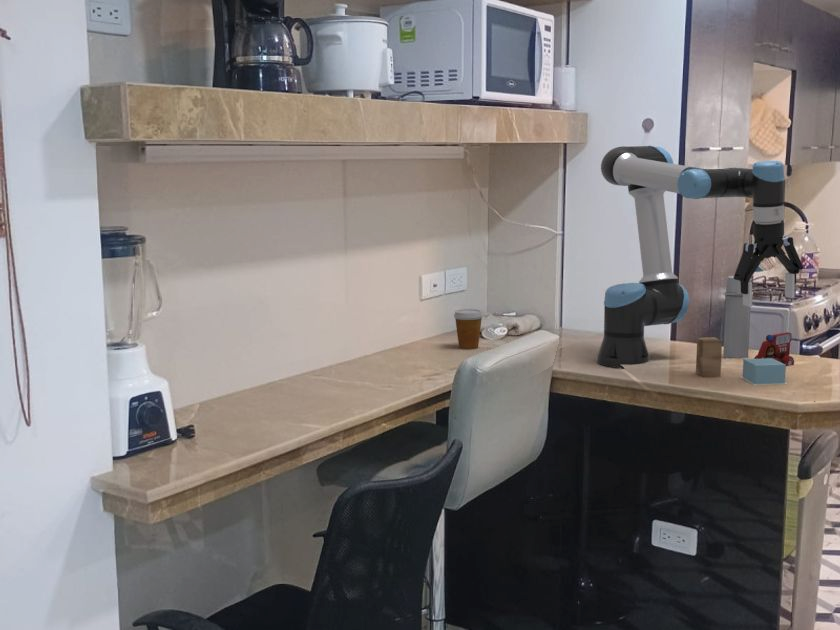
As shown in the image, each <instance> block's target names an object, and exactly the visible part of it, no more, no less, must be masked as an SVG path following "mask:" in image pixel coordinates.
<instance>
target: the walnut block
mask: <svg viewBox="0 0 840 630" xmlns="http://www.w3.org/2000/svg"><path fill="white" fill-rule="evenodd" d="M722 347H723V341H721V339H719V338H717V337H716V336H713V337H711V336H710V337H696V357H695V358H696V360H695V361H696V363H695V364H696V365H695V374H696V375H698V376H700V377H702V378H719V377H721V375H722V355H723V352H722V351H723V350H722V349H723V348H722Z"/></svg>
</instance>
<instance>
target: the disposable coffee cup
mask: <svg viewBox="0 0 840 630" xmlns="http://www.w3.org/2000/svg"><path fill="white" fill-rule="evenodd" d="M453 316H454V317H453V318H454V319H455V326H456V327H455V328H456V333H457V341H458V343H457V344H458V348H459V347H460V348H459V349H461V348H463V349H462V350H474V349H475V350H476V349H478V348H479V343H480V335H481V328H482V327H481V325H482V319H483V317H484V315H483V311H482V310H480V309H474V308H470V309H469V308H466V309H465V308H462V309H457V310H455V312H454V314H453Z"/></svg>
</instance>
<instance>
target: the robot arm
mask: <svg viewBox="0 0 840 630" xmlns="http://www.w3.org/2000/svg"><path fill="white" fill-rule="evenodd" d="M784 169H785V168H784V164H783V162H781V161H779V160H761V161H757V162H754V163H753V164H752V168H744V167H743V168H742V167H741V168H740V167H726V168H700V167H696V166H695V167H693V166H688V165H683V164H677V163H674V160H673V157H672V155H671V154H670V153H669V152H668V150H666V149H665V148H663V147H661V146H653V145H642V146H641V145H639V146H636V145H635V146H623V145H622V146H617V147H614V148H612V149H610V150H609V151H608V152H607V153H606V154H605V155H604V156H603V158H602V160H601V164H600V172H601V175H602V176H603V178H604V179H605V181H606V182H608V183H609V184H611V185H614V186H622V187H627V189H628V194H629V195H630V196H631V197H633V199H634V205H635V215H636V225H637V232H638V242H639V251H640V259H641V260H640V261H641V269H642V278H641V279H639V281H638V282H628V283H623V282H622V283H618V284H614V285H612V286H609V287H608V288H607V289H606V290H605V294H604V301H603V305H604V312H603V313H604V315H603V317H604V320H603V338H602V340H601V344H600V346H599V350H598V352H597V363H598V364H599V365H601V366H605V367H611V368H620V369H624V368H625V367H624V365H625V366H626V365H627V366H628V365H642V364H646V363H648V362H650V354H649V351H648V347H647V344H646V341H645V327H649V326H658V325H670V324H673V323H677V322H679V321H681V320H682V319H684V317H685V315H686V314H687V313H688V310H689V306H690V296H689V293H688V290H687V289H686V287H685V286H683V285H681V284H680V282H679V277H678V276H677V275H675V273H673V267H672V266H673V265H672V259H671V250H670V242H669V241H670V240H669V233H668V222H667V215H666V207H665V197H664V194H665V193H666V192H671V193H675V194H679V195H681V196H682V197H683V198H684V199H693V200H699V199H709V198H711V199H712V198H714V199H715V198H717V199H718V198H751V199H752V221H753V222H754V223H752V234H753V235H752V236H753V238H754V242H753V243H748V242H745V243H744V244H743V250H742V254H741V256H740V259H739V262H738V265H737V267H736V270H735V271H734V272H735V273H734V275H733V276H734V279H735V280H739V281H740V282H741V293H742V294H743V305H745V306H749V307H753V282H752V281H751V282H750V281H749V280H750V279H751V280H752V277H753V275H754V274H755V272H756V271H757V269H758V268H759V266H760V265H761V263H762V262H763V261H765V259H770V258H777V260H778V261H779V262H780V264H781V265H782V266H783V267H784V268H785V269H786V271H787V272H785V273H784V297H785V298H790V299H795V296H796V295H795V294H796V292H795V286H796V285H797V274H800V271H801V270H803V269H804V266H803V263H802V260H801V259H800V257H799V254H798V252H797V250H796V247H795V245H794V238H793V237H792V236H787V235H785V223H784V219H785V201H784V200H785V177H786V176H785V170H784ZM784 235H785V236H784ZM782 247H784V250H783V248H782ZM622 365H623V366H622Z"/></svg>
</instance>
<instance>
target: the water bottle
mask: <svg viewBox="0 0 840 630" xmlns="http://www.w3.org/2000/svg"><path fill="white" fill-rule="evenodd" d="M749 281H750V282H752V278H751V279H750V280H749ZM722 295H724V303H723V304H724V306H723V312H722V319H721V326H720V331H719V332H720V333H719V334H720V337H719V338H720V340H721V341H722V343H723V350H722V351H723V352H722V355H723V356H722V357H723V358H724V359H749V351H750V350H749V349H750V348H749V347H750V328H751V325H750V324H751V307H752V306H751V307H749V306H745V305H743V294H742V293H741V282H740V281H739V280H735V279H734V275H729V276H727V279H726V287H725V292H723V293H722ZM723 330H724V331H723ZM723 332H724V333H723Z"/></svg>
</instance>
